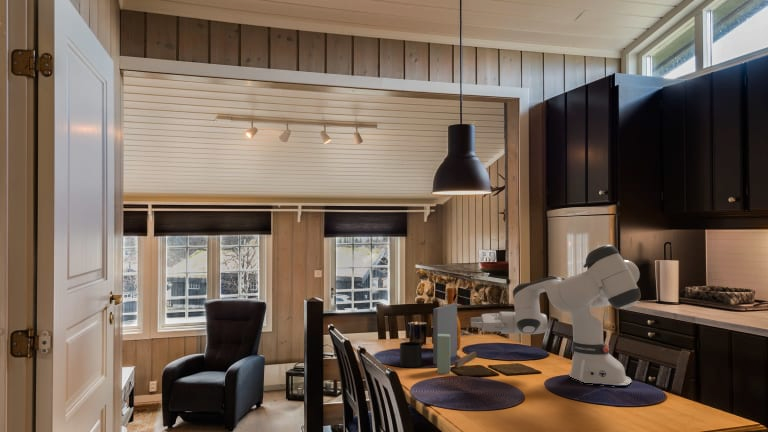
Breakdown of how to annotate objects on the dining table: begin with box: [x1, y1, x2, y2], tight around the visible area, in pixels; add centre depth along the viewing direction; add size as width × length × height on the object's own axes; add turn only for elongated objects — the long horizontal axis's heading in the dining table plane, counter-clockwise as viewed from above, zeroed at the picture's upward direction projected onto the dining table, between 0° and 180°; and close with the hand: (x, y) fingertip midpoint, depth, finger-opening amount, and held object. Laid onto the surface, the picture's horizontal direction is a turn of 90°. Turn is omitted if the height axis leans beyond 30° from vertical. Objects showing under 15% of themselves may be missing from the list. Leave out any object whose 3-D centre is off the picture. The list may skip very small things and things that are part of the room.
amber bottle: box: [446, 287, 461, 351], centre depth 262 cm, size 10×10×30 cm
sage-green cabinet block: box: [436, 334, 451, 375], centre depth 218 cm, size 5×5×15 cm
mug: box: [399, 341, 423, 368], centre depth 230 cm, size 9×12×9 cm
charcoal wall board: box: [432, 302, 477, 368], centre depth 237 cm, size 12×22×24 cm, turn 150°
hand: (470, 322), depth 216 cm, fingers open, 8 cm apart
